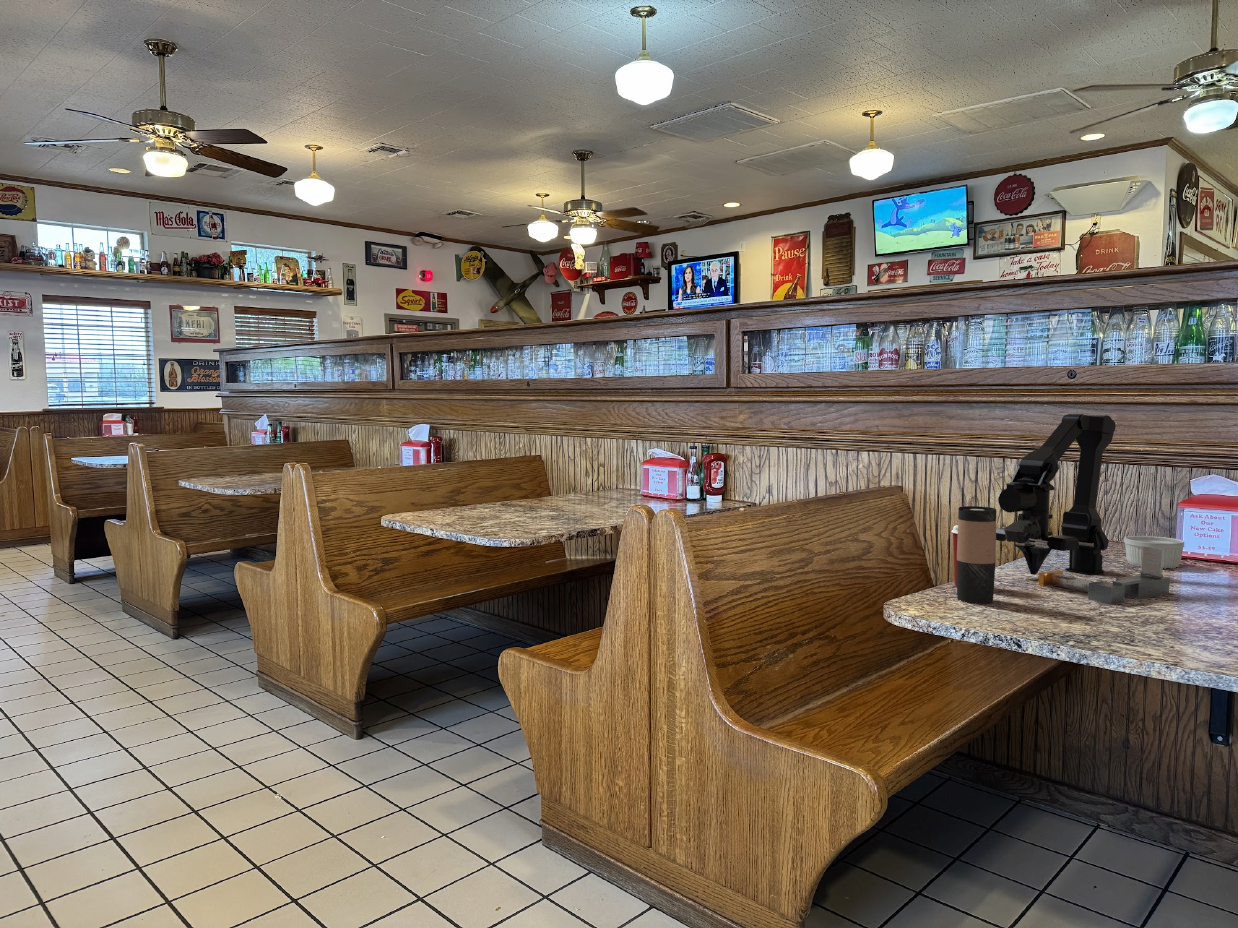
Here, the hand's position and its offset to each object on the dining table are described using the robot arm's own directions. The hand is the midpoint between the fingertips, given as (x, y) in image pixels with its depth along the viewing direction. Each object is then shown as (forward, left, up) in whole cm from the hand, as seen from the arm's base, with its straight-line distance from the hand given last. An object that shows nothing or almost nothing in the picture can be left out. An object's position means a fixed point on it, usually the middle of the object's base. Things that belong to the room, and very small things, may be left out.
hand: (1033, 574), depth 194 cm
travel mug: (+7, -29, -2) cm, 30 cm away
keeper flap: (+21, +11, +3) cm, 24 cm away
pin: (+9, 0, -2) cm, 9 cm away
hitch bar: (+21, +3, -2) cm, 21 cm away
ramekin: (+2, +45, -2) cm, 45 cm away
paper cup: (-3, -19, -2) cm, 19 cm away
